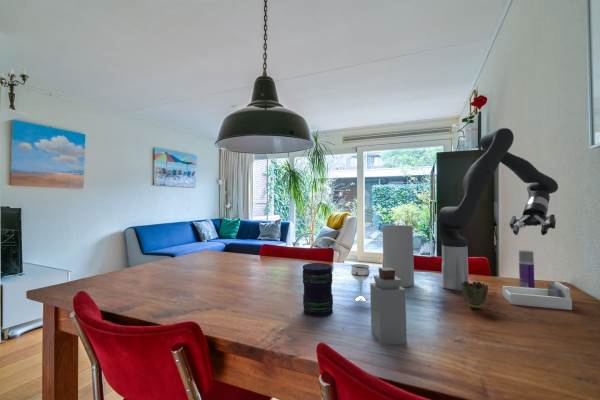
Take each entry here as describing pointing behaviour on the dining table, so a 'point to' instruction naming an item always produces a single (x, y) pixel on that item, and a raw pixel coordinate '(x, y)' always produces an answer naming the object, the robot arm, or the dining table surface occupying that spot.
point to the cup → (475, 294)
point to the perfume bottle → (388, 308)
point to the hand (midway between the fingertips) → (528, 233)
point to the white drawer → (538, 297)
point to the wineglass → (360, 277)
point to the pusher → (554, 291)
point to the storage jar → (317, 289)
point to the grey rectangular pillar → (399, 252)
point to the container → (526, 269)
